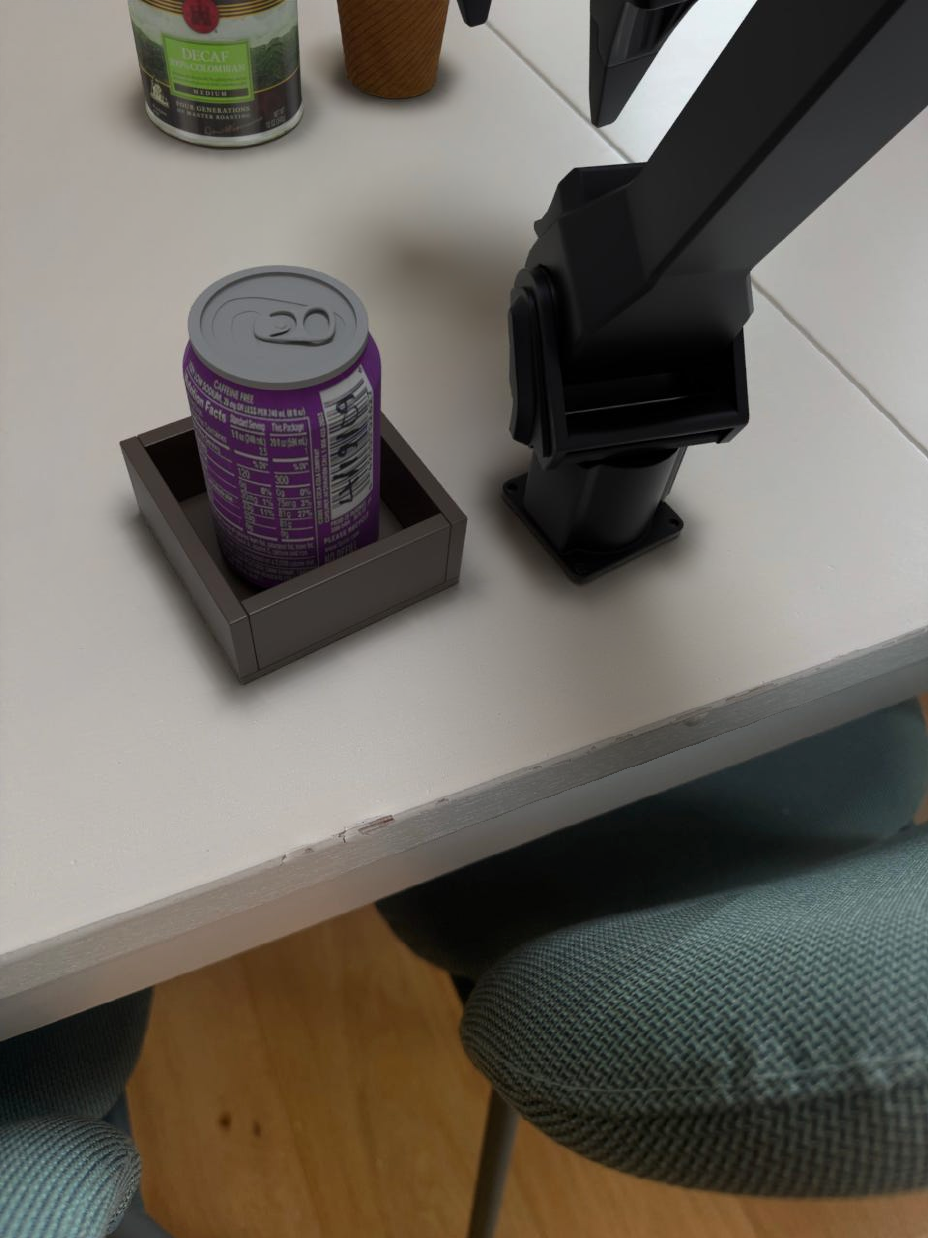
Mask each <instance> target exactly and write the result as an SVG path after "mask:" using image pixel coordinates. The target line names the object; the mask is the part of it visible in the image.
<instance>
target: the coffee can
mask: <svg viewBox="0 0 928 1238" xmlns="http://www.w3.org/2000/svg"><path fill="white" fill-rule="evenodd" d="M126 1H127V7H128V12H129V13H128V14H129V18H130V25H131V29H132V34H133V39H134V46H135V50H136V55H137V62H138V68H139V72H140V76H141V83H142V88H143V93H144V98H145V102H144V103H145V104H144V105H145V110H146V114H147V115H148V118H149V119H150V120H151V121H152V122H153V123H154V125H155V126H157V127H158V128H159V129H160V130H162V132H164V133H165V134H167V135H169V136H172V137H174V138H176V139H178V140H180V141H184V142H187V143H190V144H194V145H199V146H204V147H209V148H210V147H212V148H243V147H250V146H254V145H259V144H264V143H267V142H269V141H272V140H275V139H277V138H279V137H281V136H283V135H285V134H286V133H288V132H289V131H291V130H292V129H293V128H295V127H296V126H297V124H298V123H299V122H300V120H301V118H302V117H303V113H304V110H305V109H304V108H305V107H304V106H305V105H304V100H303V91H302V71H301V53H300V33H299V31H300V30H299V11H298V0H126Z"/></svg>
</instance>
